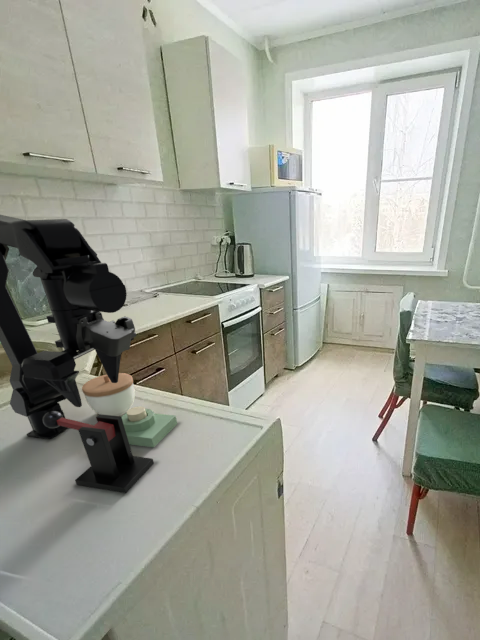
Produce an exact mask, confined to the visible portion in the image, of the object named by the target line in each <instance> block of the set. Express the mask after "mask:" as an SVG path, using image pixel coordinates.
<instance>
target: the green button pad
mask: <svg viewBox="0 0 480 640" xmlns="http://www.w3.org/2000/svg"><path fill="white" fill-rule="evenodd" d="M145 411H146V414H147V417H146V418H144V419H142V420H140V421H135V422H131V421H129V420H128V416H127V413H125V414H123V415H121V417H122V421H123V424H124V428H125V431H126V434H127V438H128V441H129V445H130V446H131V445H133V446H139V447H146V448H155V447H156V446H157V445H158V444H159V443H160V442H161V441H162V440H163V439H164V438H165V437H166V436H167V435H168V434H169V433H171V431H172V430H173V429H174V428H175V427H176V426H177V425H178V421H177V416H176V415H174V414H166V413H165V414H164V413H155V412H154V411H153V410H152V409H150V408H145Z"/></svg>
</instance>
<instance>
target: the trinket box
mask: <svg viewBox="0 0 480 640" xmlns="http://www.w3.org/2000/svg"><path fill="white" fill-rule="evenodd" d="M81 391H82V393H83V395H84V399H85V401H86V402H87V404H88V406H89V407H90V408H91V410H92V411H93V412H94V413H96V414H98V415H100V414H102V415H111V416H123V415H124V414H125V413H127V411H128V410H129V409H131V408H132V406H133V404H134V402H135V398H136V390H135V384H134V378H133V376H132V375H131V374H128V373H124V372H119V376H118V382H117V383H112V382H111V380H110V379H109V377H108V375H107V374H103V375H99V376H97V377H94V378H91V379H89V380H87V381H86V382H85V383H84V384H82V387H81Z"/></svg>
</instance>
